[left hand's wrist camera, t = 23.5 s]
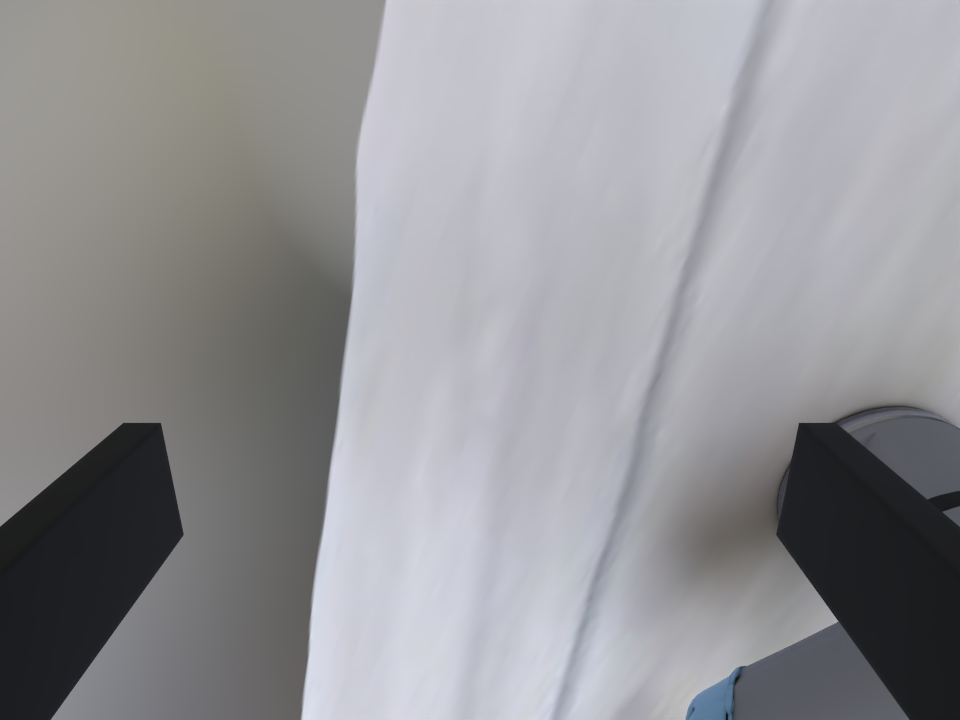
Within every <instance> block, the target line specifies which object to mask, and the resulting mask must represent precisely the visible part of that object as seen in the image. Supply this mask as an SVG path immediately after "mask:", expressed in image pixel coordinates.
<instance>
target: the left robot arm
mask: <svg viewBox="0 0 960 720" xmlns="http://www.w3.org/2000/svg"><path fill="white" fill-rule="evenodd" d="M777 506H778V519H779V524H778V529H777V534H776V535H777V536H778V538H779V539H780V541H781V542H782V543H783V545H784V546H785V548H786V549H787V550H788V552H789V553H790V554H791V556H792V557H793V559H794V560H795V561H796V563H797V564H798V566H799V567H800V568H801V570H802V571H803V573H804V574H805V575H806V577H807V578H808V579H809V581H810V582H811V584H812V585H813V586H814V588H815V589H816V591H817V592H818V593H819V595H820V596H821V598H822V599H823V600H824V602H825V603H826V604H827V606H828V607H829V609H830V610H831V611H832V613H833V614H834V616H835V617H836V618H837V620H838V621H839V622H837V623H835V624H833V625H831V626H829V627H827V628H825V629H823V630H821V631H819V632H817V633H815V634H813V635H811V636H809V637H807V638H805V639H803V640H801V641H799V642H797V643H795V644H793V645H791V646H789V647H787V648H785V649H783V650H781V651H778V652H776V653H774V654H772V655H770V656H768V657H766V658H764V659H762V660H759V661H757V662H755V663H753V664H751V665H749V666H741V667H739V668H736V669H735V670H734V671H733V672H732V674H731V675H730V676H729V677H727V678H725V679H724V680H722V681H720V682H719V683H717V684H715V685H713V686H712V687H710V688H708V689H706V690H704V691H703V692H701V693H700V694H698V695H697V696H696V697H695V698H694V699H693V701H692V702H691V704H690V706H689V708H688V712H687V715H686V720H960V429H959V428H958V427H956V426H955V425H953V424H952V423H950V422H948V421H947V420H945V419H943V418H942V417H940V416H938V415H936V414H933V413H931V412H928V411H924V410H920V409H916V408H908V407H887V408H879V409H873V410H869V411H865V412H862V413H859V414H856V415H853V416H850V417H848V418H846V419H843V420H841V421H839V422H837V423H799V426H798V431H797V436H796V441H795V446H794V451H793V456H792V461H791V465H790V467H789V469H788V470H787V472H786V474H785V477H784V479H783V481H782V484H781V487H780V491H779V496H778V505H777ZM183 535H184V534H183V529H182V525H181V520H180V515H179V510H178V505H177V500H176V495H175V490H174V485H173V481H172V475H171V471H170V466H169V461H168V456H167V451H166V446H165V441H164V436H163V431H162V426H161V423H123V424H122V425H121V426H119V427H118V428H117V429H116V430H115V431H113V432H112V433H111V434H110V435H109V436H108V437H106V438H105V439H104V440H103V441H102V442H100V443H99V444H98V445H97V446H96V447H94V448H93V449H92V450H91V451H90V452H88V453H87V454H86V455H85V456H84V457H83V458H81V459H80V460H79V461H78V462H77V463H75V464H74V465H73V466H72V467H71V468H69V469H68V470H67V471H66V472H65V473H64V474H62V475H61V476H60V477H59V478H58V479H56V480H55V481H54V482H53V483H52V484H50V485H49V486H48V487H47V488H46V489H45V490H43V491H42V492H41V493H40V494H39V495H37V496H36V497H35V498H34V499H33V500H31V501H30V502H29V503H28V504H27V505H26V506H24V507H23V508H22V509H21V510H20V511H18V512H17V513H16V514H15V515H14V516H12V517H11V518H10V519H9V520H8V521H6V522H5V523H4V524H3V525H2V526H1V527H0V720H51V718H52V717H53V715H54V714H55V713H56V711H57V710H58V709H59V707H60V706H61V704H62V703H63V702H64V700H65V699H66V698H67V696H68V695H69V693H70V692H71V691H72V689H73V688H74V686H75V685H76V684H77V682H78V681H79V679H80V678H81V677H82V675H83V674H84V673H85V671H86V670H87V668H88V667H89V666H90V664H91V663H92V661H93V660H94V659H95V657H96V656H97V654H98V653H99V652H100V650H101V649H102V648H103V646H104V645H105V643H106V642H107V641H108V639H109V638H110V636H111V635H112V634H113V632H114V631H115V629H116V628H117V627H118V625H119V624H120V623H121V621H122V620H123V618H124V617H125V615H126V614H127V613H128V611H129V610H130V609H131V607H132V606H133V604H134V603H135V602H136V600H137V599H138V597H139V596H140V595H141V593H142V592H143V591H144V589H145V588H146V586H147V585H148V584H149V582H150V581H151V579H152V578H153V577H154V575H155V574H156V573H157V571H158V570H159V568H160V567H161V566H162V564H163V563H164V561H165V560H166V559H167V557H168V556H169V554H170V553H171V552H172V550H173V549H174V548H175V546H176V545H177V543H178V542H179V541H180V539H181V538H182V536H183Z"/></svg>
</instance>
